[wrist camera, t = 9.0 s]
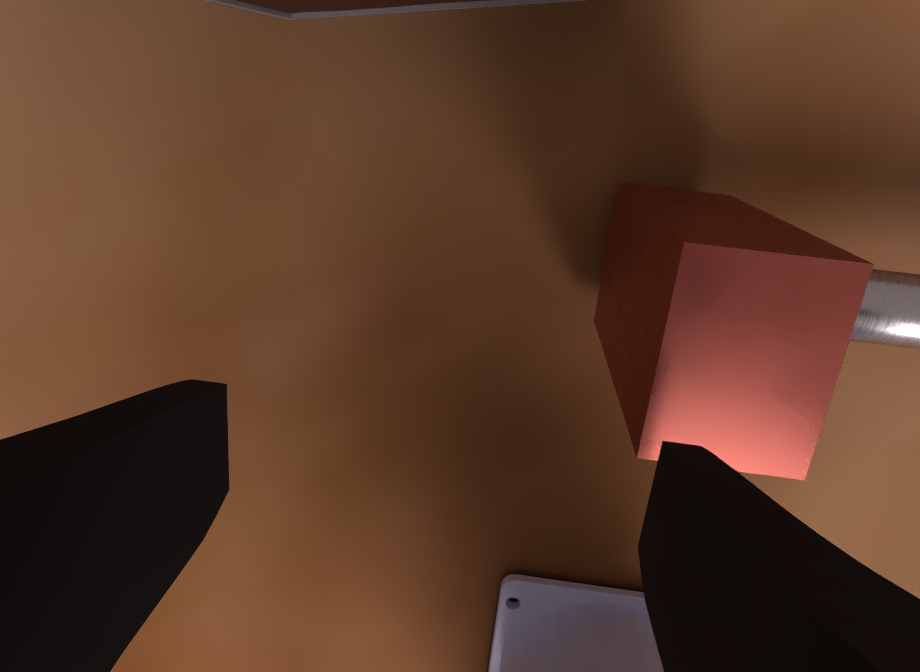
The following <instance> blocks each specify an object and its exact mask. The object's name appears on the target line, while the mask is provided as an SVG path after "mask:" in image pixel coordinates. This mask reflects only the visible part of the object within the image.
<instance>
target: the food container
mask: <svg viewBox="0 0 920 672" xmlns="http://www.w3.org/2000/svg"><path fill="white" fill-rule="evenodd" d="M203 1H208V2H212V3H216V4H220V5H225V6H229V7H233V8H238V9H242V10H246V11H250V12H255V13H259V14H263V15H268V16H272V17H276V18H280V19H285V20H296V19H311V18H327V17H342V16H358V15H373V14H389V13H404V12H420V11H435V10H450V9H466V8H481V7H497V6H512V5H528V4H543V3H558V2H574V1H589V0H203Z"/></svg>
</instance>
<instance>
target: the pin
mask: <svg viewBox="0 0 920 672" xmlns="http://www.w3.org/2000/svg"><path fill="white" fill-rule="evenodd" d="M873 266H874V264H872V263H870V262H868V261H866V260H864V259H862V258H860V257H858V256H856V255H854V254H852V253H849V252H847V251H845V250H843V249H841V248H839V247H837V246H835V245H833V244H831V243H829V242H826V241H824V240H822V239H820V238H818V237H816V236H814V235H812V234H810V233H808V232H806V231H803V230H801V229H799V228H797V227H795V226H793V225H791V224H789V223H787V222H785V221H783V220H780V219H778V218H776V217H774V216H772V215H770V214H768V213H766V212H764V211H762V210H760V209H757V208H755V207H753V206H751V205H749V204H747V203H745V202H743V201H741V200H739V199H737V198H734V197H732V196H730V195H724V194H716V193H707V192H698V191H689V190H680V189H671V188H662V187H653V186H644V185H636V184H627V183H618V188H617V194H616V199H615V205H614V210H613V216H612V222H611V227H610V233H609V238H608V244H607V250H606V255H605V261H604V266H603V272H602V278H601V283H600V289H599V294H598V300H597V306H596V311H595V317H594V322H595V325H596V329H597V332H598V335H599V338H600V341H601V345H602V348H603V351H604V354H605V357H606V361H607V364H608V367H609V370H610V373H611V377H612V380H613V383H614V386H615V389H616V393H617V396H618V399H619V402H620V405H621V409H622V412H623V415H624V418H625V421H626V425H627V428H628V431H629V434H630V437H631V441H632V444H633V447H634V450H635V453H636V457H637V458H641V459H649V460H656V461H658V458H659V454H660V450H661V446H662V441H668V442H675V443H683V444H691V445H698V446H702V447H704V448H705V449H707V450H709V451H710V452H712V453H713V454H715V455H716V456H717V457H719V458H720V459H721V460H723V461H724V462H725V463H727V464H728V465H729V466H731V467H732V468H733V469H734V470H736V471H739V472H747V473H754V474H762V475H769V476H777V477H784V478H792V479H799V480H805V477H806V474H807V471H808V468H809V465H810V461H811V458H812V455H813V452H814V449H815V446H816V443H817V440H818V437H819V433H820V430H821V427H822V424H823V421H824V418H825V415H826V412H827V409H828V405H829V402H830V399H831V396H832V393H833V390H834V387H835V384H836V381H837V377H838V374H839V371H840V368H841V365H842V362H843V359H844V356H845V353H846V349H847V346H848V343H849V341H854V342H862V343H871V344H879V345H887V346H895V347H903V348H911V349H920V274H912V273H903V272H894V271H886V270H877V269H873Z"/></svg>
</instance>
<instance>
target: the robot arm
mask: <svg viewBox="0 0 920 672" xmlns="http://www.w3.org/2000/svg"><path fill="white" fill-rule="evenodd" d="M228 491H229V462H228V421H227V384H223V383H215V382H207V381H200V380H192V379H191V380H185V381H180V382H176V383H173V384H169V385H166V386H163V387H159V388H156V389H153V390H150V391H147V392H144V393H141V394H138V395H135V396H133V397H130V398H127V399H124V400H121V401H118V402H115V403H112V404H110V405H107V406H104V407H101V408H98V409H95V410H92V411H89V412H86V413H84V414H81V415H78V416H75V417H72V418H68V419H65V420H62V421H59V422H56V423H53V424H49V425H46V426H43V427H40V428H37V429H33V430H30V431H27V432H24V433H21V434H18V435H14V436H11V437H8V438H4V439H1V440H0V672H110V671H111V669H112V668H113V666H114V665H115V663H116V662H117V660H118V659H119V657H120V656H121V654H122V653H123V651H124V650H125V649H126V647H127V646H128V644H129V643H130V642H131V640H132V639H133V637H134V636H135V635H136V633H137V632H138V630H139V629H140V628H141V626H142V625H143V624H144V622H145V621H146V619H147V618H148V617H149V615H150V614H151V612H152V611H153V610H154V608H155V607H156V606H157V604H158V603H159V601H160V600H161V599H162V597H163V596H164V594H165V593H166V592H167V590H168V589H169V588H170V586H171V585H172V583H173V582H174V581H175V579H176V578H177V576H178V575H179V574H180V572H181V571H182V569H183V568H184V567H185V565H186V564H187V562H188V561H189V559H190V558H191V557H192V555H193V554H194V552H195V551H196V549H197V548H198V547H199V545H200V544H201V542H202V541H203V539H204V537H205V536H206V534H207V532H208V530H209V528H210V526H211V525H212V523H213V521H214V519H215V517H216V515H217V513H218V511H219V509H220V507H221V505H222V503H223V501H224V499H225V497H226V495H227V493H228ZM638 550H639V559H640V567H641V576H642V583H643V590H644V592H637V591H630V590H623V589H616V588H609V587H602V586H595V585H588V584H581V583H574V582H567V581H560V580H553V579H546V578H539V577H532V576H525V575H518V574H511V575H508V576H506V577H505V578H504V579H503V580H502V583H501V588H500V595H499V601H498V608H497V615H496V621H495V628H494V635H493V641H492V648H491V655H490V661H489V668H488V672H920V599H919V598H917V597H915V596H914V595H912V594H910V593H909V592H907V591H905V590H904V589H902V588H900V587H899V586H897V585H895V584H894V583H892V582H890V581H889V580H887V579H885V578H884V577H882V576H881V575H879V574H877V573H876V572H874V571H872V570H871V569H869V568H868V567H866V566H865V565H863V564H862V563H860V562H858V561H857V560H855V559H854V558H852V557H851V556H849V555H848V554H847V553H845V552H844V551H842V550H841V549H839V548H838V547H837V546H835V545H834V544H832V543H831V542H829V541H828V540H826V539H825V538H824V537H822V536H821V535H819V534H818V533H816V532H815V531H814V530H812V529H811V528H810V527H808V526H807V525H805V524H804V523H803V522H801V521H800V520H799V519H797V518H796V517H795V516H793V515H792V514H791V513H789V512H788V511H787V510H785V509H784V508H783V507H782V506H780V505H779V504H778V503H776V502H775V501H774V500H772V499H771V498H770V497H769V496H767V495H766V494H765V493H764V492H762V491H761V490H760V489H758V488H757V487H756V486H755V485H753V484H752V483H751V482H750V481H748V480H747V479H746V478H745V477H743V476H742V475H741V474H739V473H738V472H737V471H736V470H734V469H733V468H732V467H731V466H729V465H728V464H727V463H725V462H724V461H723V460H721V459H720V458H719V457H717V456H716V455H715V454H713V453H712V452H710V451H709V450H707V449H705V448H704V447H702V446H698V445H691V444H683V443H675V442H668V441H662V446H661V450H660V454H659V458H658V463H657V467H656V471H655V476H654V480H653V484H652V488H651V493H650V497H649V501H648V506H647V510H646V514H645V518H644V523H643V527H642V531H641V536H640V540H639V544H638ZM509 598H516V599H518V601H516V602H512V601H509V600H508V599H509Z"/></svg>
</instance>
